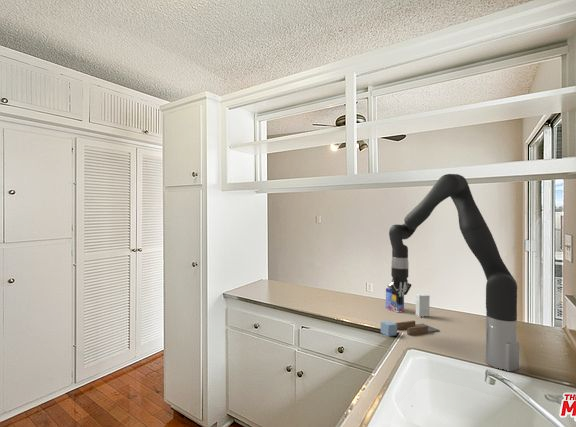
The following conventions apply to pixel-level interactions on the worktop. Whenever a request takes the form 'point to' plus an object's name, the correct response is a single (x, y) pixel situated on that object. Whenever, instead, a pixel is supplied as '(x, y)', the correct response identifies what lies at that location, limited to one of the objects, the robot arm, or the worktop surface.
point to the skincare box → (422, 304)
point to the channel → (412, 327)
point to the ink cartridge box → (393, 301)
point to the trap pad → (430, 329)
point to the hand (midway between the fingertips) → (399, 304)
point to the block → (388, 328)
